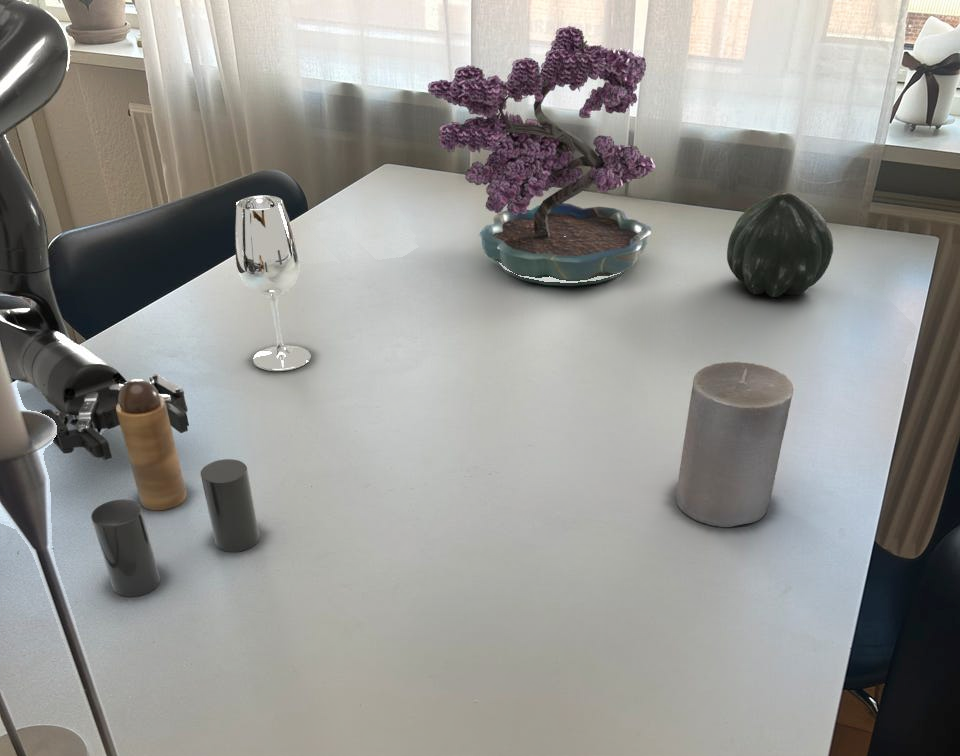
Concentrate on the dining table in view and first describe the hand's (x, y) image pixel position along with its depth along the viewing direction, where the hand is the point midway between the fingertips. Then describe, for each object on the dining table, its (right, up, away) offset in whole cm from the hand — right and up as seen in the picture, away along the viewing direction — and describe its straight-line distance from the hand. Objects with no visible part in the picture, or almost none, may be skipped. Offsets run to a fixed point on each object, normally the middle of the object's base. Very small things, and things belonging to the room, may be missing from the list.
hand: (146, 437), depth 103 cm
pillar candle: (+60, -7, +3) cm, 60 cm away
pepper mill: (+1, -6, +4) cm, 7 cm away
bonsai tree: (+45, +39, +56) cm, 81 cm away
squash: (+79, +32, +48) cm, 98 cm away
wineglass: (+8, +16, +30) cm, 35 cm away
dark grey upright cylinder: (+2, -15, -7) cm, 17 cm away
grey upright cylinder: (+10, -11, -2) cm, 15 cm away
